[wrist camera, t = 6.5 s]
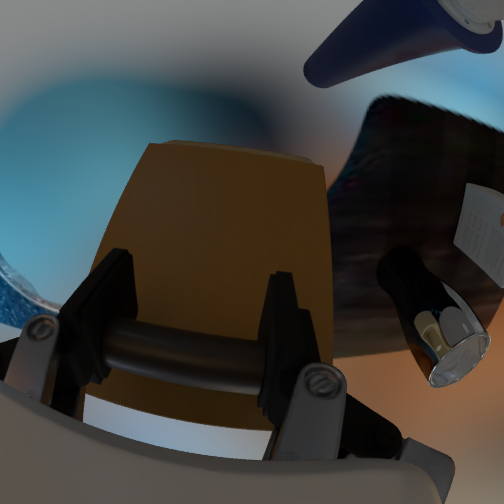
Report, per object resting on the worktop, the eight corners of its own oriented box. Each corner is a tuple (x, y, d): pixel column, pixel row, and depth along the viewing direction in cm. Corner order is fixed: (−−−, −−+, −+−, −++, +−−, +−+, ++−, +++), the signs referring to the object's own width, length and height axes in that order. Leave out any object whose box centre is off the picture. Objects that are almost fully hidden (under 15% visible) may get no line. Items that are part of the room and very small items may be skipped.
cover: (322, 429, 11) (377, 441, 6) (68, 384, 10) (6, 370, 6) (320, 173, 19) (342, 118, 15) (150, 150, 18) (141, 93, 14)
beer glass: (377, 243, 27) (447, 341, 14) (427, 241, 27) (504, 323, 14) (368, 295, 31) (414, 397, 17) (415, 290, 30) (470, 378, 17)
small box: (477, 244, 27) (524, 287, 18) (451, 243, 27) (501, 290, 18) (492, 187, 23) (548, 220, 14) (465, 181, 23) (527, 214, 14)
